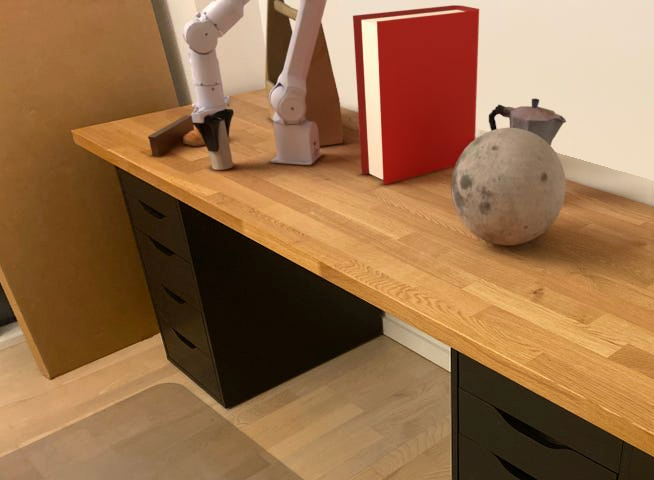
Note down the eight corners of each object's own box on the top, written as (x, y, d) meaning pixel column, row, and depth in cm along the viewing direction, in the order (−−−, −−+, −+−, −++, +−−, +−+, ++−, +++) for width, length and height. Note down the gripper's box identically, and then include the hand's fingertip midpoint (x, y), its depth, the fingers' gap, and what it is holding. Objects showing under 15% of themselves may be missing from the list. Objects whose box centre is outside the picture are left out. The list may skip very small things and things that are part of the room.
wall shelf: (195, 133, 181) (192, 115, 178) (159, 156, 166) (155, 137, 163) (188, 133, 181) (185, 115, 179) (152, 156, 166) (147, 136, 164)
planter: (211, 165, 162) (200, 118, 156) (231, 162, 163) (222, 116, 158) (214, 171, 158) (203, 123, 153) (235, 168, 160) (225, 120, 154)
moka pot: (556, 209, 144) (566, 107, 133) (480, 202, 147) (484, 101, 136) (560, 192, 152) (570, 94, 141) (488, 186, 155) (492, 89, 143)
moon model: (572, 229, 136) (584, 122, 125) (541, 273, 121) (552, 155, 110) (474, 212, 142) (477, 108, 131) (432, 252, 127) (432, 138, 116)
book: (383, 184, 154) (376, 21, 136) (361, 174, 159) (352, 15, 141) (477, 159, 169) (483, 9, 151) (455, 151, 174) (458, 4, 156)
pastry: (193, 149, 170) (190, 133, 168) (178, 143, 174) (174, 127, 172) (227, 141, 176) (225, 125, 174) (212, 135, 180) (209, 120, 178)
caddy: (268, 118, 194) (252, -6, 177) (307, 114, 198) (295, -8, 181) (302, 149, 172) (287, 11, 156) (344, 143, 177) (334, 9, 160)
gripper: (205, 74, 157) (215, 136, 165) (172, 89, 145) (185, 156, 153) (235, 76, 156) (244, 138, 164) (206, 91, 144) (217, 158, 152)
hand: (218, 147), depth 158 cm, fingers closed on planter, 4 cm apart
